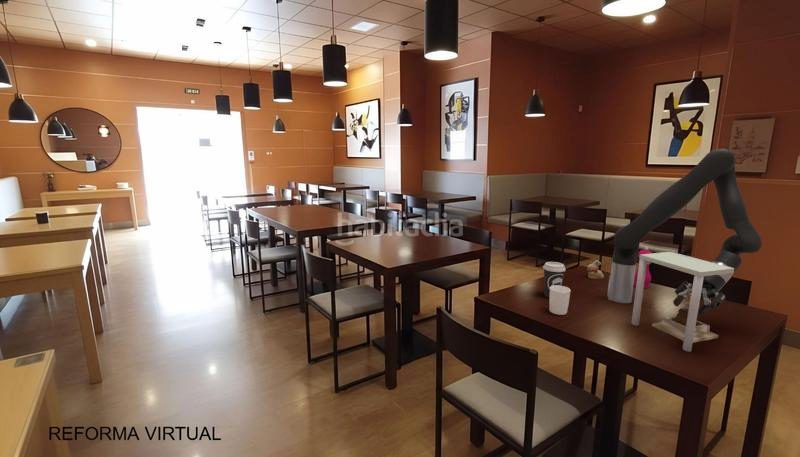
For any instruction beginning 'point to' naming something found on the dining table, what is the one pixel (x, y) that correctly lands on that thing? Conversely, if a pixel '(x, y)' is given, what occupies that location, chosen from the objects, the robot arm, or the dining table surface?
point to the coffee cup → (552, 276)
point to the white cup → (559, 299)
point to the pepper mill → (647, 276)
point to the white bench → (685, 265)
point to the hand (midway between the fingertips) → (686, 309)
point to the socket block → (679, 330)
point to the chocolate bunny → (594, 270)
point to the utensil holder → (682, 315)
